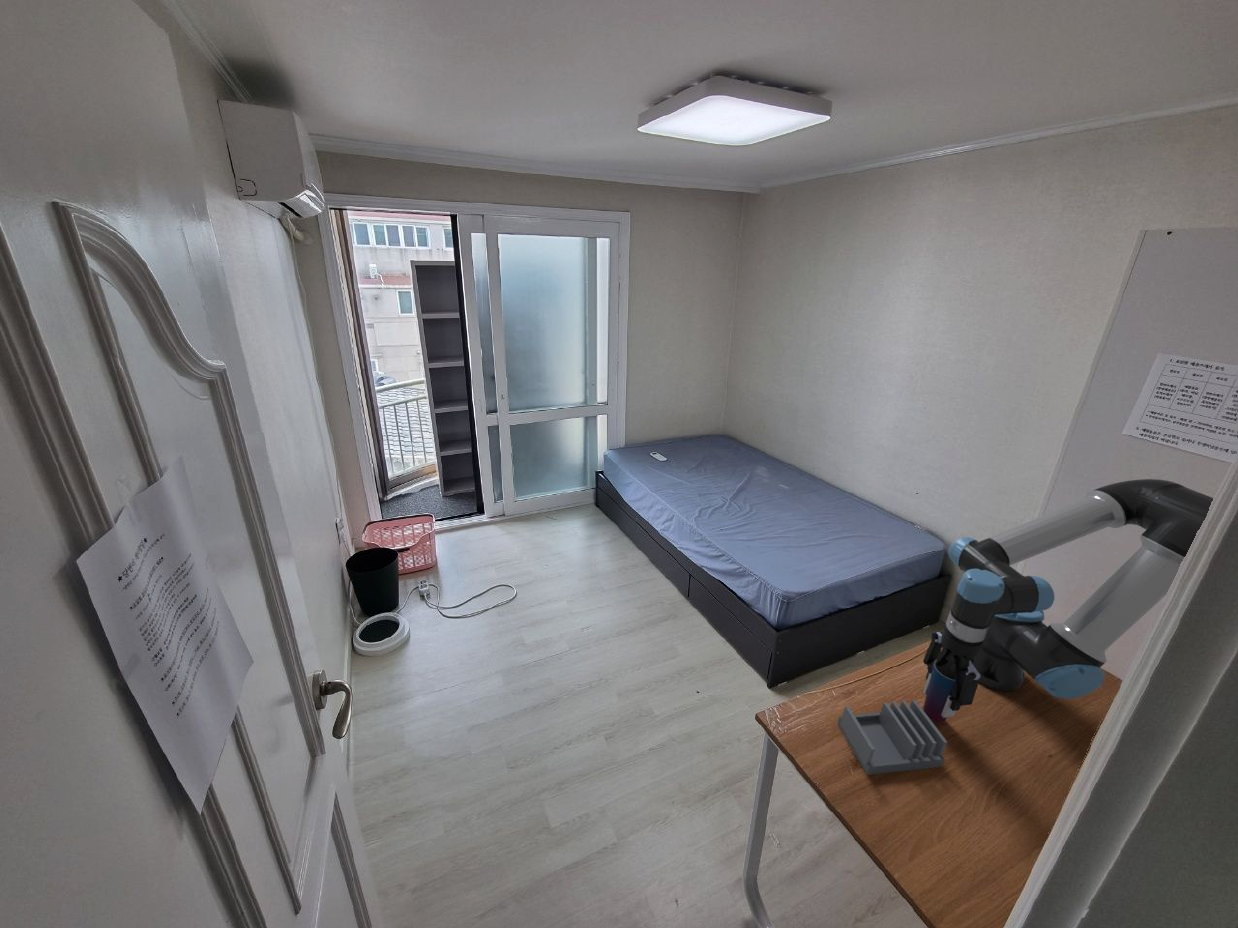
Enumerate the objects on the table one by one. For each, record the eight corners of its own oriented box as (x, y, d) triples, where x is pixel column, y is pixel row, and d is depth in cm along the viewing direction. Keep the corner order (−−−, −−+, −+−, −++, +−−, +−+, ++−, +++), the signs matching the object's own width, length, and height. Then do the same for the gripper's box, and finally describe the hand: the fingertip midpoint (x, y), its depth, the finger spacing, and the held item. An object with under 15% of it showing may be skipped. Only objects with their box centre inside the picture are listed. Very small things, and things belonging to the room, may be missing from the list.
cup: (954, 727, 120) (972, 683, 114) (924, 722, 121) (940, 678, 115) (944, 704, 126) (960, 660, 120) (915, 699, 127) (929, 656, 121)
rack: (905, 716, 125) (912, 696, 122) (941, 766, 113) (950, 745, 110) (837, 723, 123) (843, 702, 120) (866, 774, 111) (873, 753, 108)
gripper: (921, 605, 121) (899, 674, 131) (981, 666, 104) (951, 740, 114) (950, 602, 122) (926, 671, 131) (1014, 662, 105) (981, 737, 114)
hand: (937, 703), depth 122 cm, fingers closed on cup, 6 cm apart
